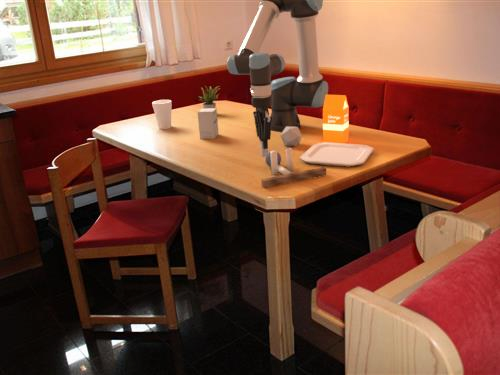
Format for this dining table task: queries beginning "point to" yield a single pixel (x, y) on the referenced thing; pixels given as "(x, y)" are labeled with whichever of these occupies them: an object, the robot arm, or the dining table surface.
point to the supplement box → (208, 123)
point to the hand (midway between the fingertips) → (264, 155)
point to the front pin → (283, 170)
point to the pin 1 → (274, 163)
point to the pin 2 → (289, 159)
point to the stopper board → (293, 177)
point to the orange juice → (335, 119)
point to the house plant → (209, 98)
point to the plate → (337, 154)
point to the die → (291, 136)
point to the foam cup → (163, 113)
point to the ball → (268, 159)
